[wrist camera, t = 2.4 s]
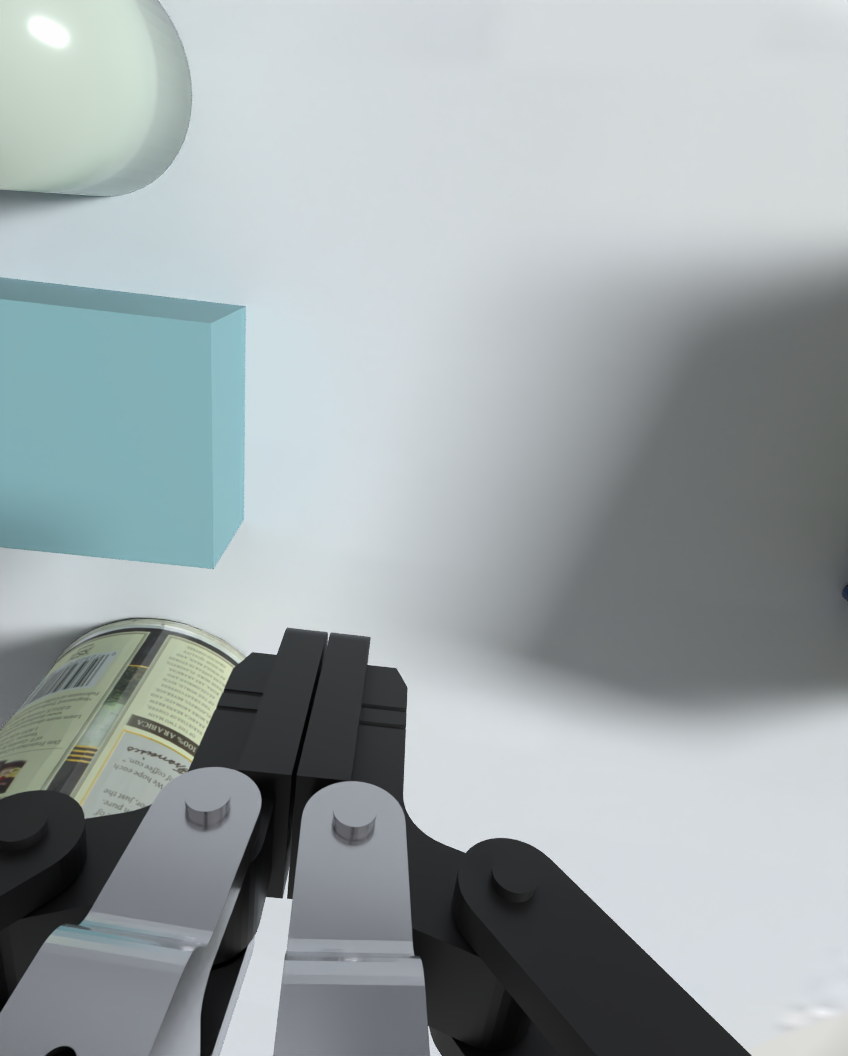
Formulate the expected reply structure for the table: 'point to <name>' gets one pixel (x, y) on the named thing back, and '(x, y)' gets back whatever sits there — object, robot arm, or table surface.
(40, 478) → the teal carton
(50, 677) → the coffee can
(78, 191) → the pale green dome
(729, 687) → the table surface
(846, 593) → the protein box
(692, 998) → the robot arm
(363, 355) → the table surface
